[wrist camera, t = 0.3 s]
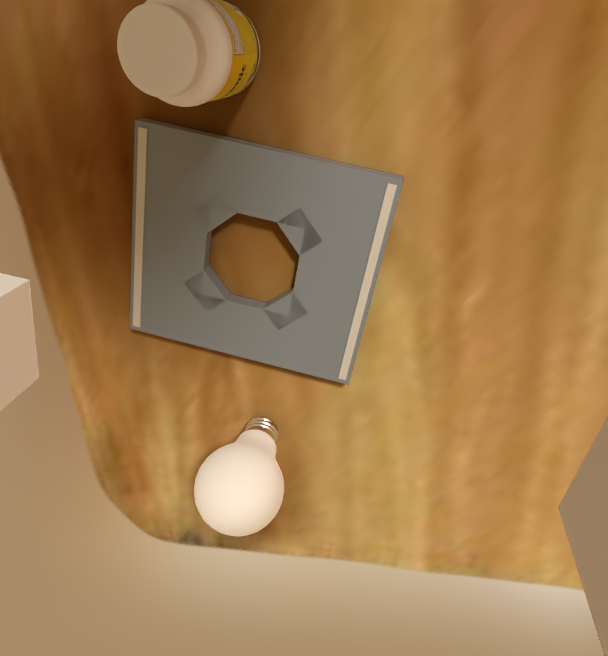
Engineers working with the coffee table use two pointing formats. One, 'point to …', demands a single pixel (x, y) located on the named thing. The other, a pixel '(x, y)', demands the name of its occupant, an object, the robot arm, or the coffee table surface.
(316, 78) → the coffee table surface
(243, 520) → the light bulb
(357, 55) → the coffee table surface
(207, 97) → the supplement bottle
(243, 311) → the socket board
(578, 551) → the robot arm
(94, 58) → the coffee table surface
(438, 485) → the coffee table surface
